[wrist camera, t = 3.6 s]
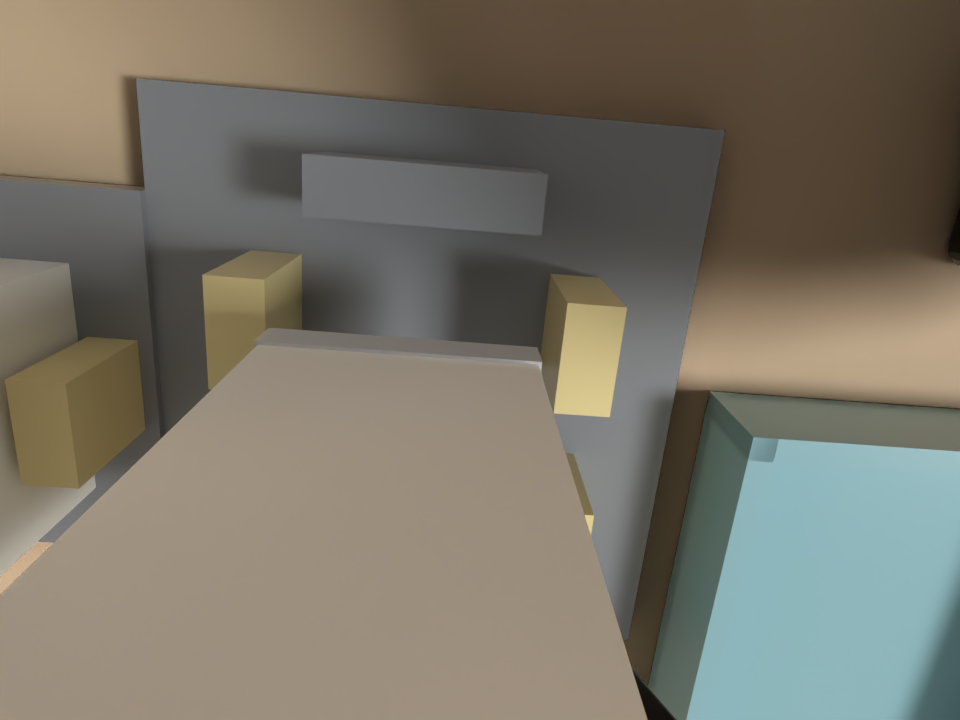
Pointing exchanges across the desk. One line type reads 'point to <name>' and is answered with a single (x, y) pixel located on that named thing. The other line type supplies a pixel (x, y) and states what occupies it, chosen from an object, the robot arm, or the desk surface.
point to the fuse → (331, 554)
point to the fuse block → (349, 280)
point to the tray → (816, 565)
